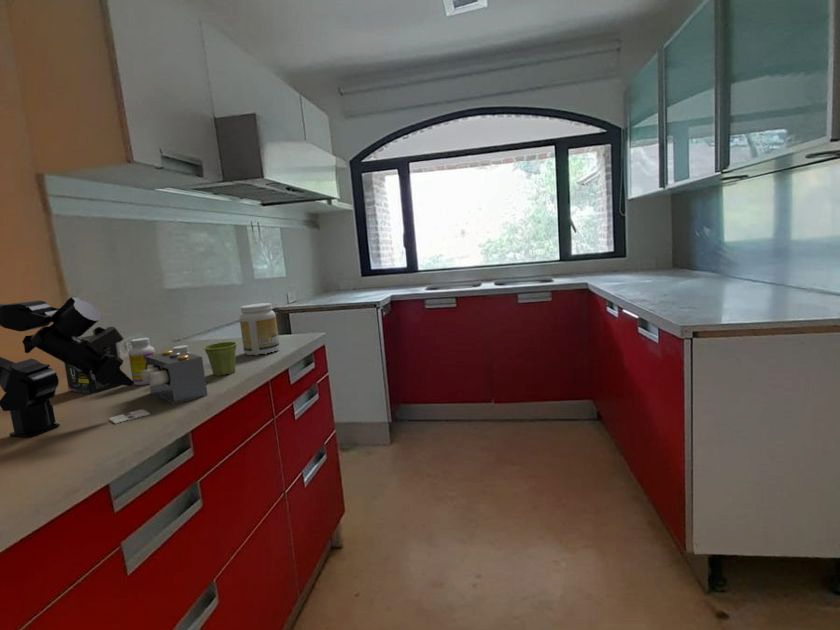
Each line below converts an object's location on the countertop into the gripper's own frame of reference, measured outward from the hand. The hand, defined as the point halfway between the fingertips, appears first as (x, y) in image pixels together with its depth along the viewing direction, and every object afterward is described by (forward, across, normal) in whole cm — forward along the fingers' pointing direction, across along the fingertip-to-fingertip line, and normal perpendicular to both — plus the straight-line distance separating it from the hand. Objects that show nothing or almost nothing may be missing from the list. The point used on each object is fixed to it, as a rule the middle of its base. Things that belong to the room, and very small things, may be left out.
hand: (132, 384), depth 114 cm
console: (+13, +6, -4) cm, 14 cm away
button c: (+7, +11, -5) cm, 14 cm away
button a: (+5, 0, -3) cm, 6 cm away
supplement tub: (+40, +33, -30) cm, 60 cm away
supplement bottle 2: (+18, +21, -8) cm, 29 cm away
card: (+3, -4, +6) cm, 8 cm away
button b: (+5, +6, -3) cm, 8 cm away
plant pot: (+25, +16, -15) cm, 33 cm away
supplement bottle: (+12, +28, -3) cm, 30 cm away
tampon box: (+5, +35, +5) cm, 36 cm away
